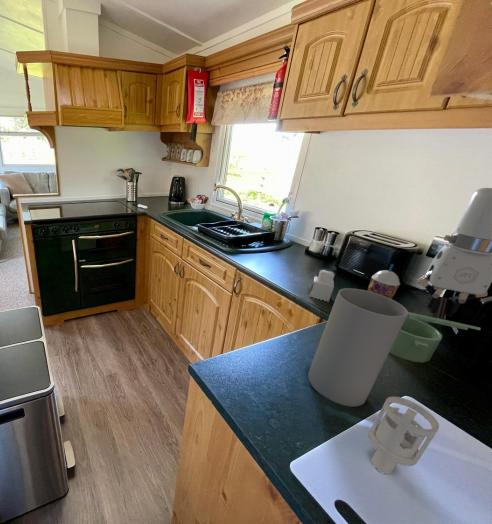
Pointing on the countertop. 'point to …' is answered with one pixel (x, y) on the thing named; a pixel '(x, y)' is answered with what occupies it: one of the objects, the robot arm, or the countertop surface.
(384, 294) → the smoothie
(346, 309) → the cylinder vase
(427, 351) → the pot
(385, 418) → the strainer
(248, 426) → the countertop surface
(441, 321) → the lid
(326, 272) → the medicine bottle
